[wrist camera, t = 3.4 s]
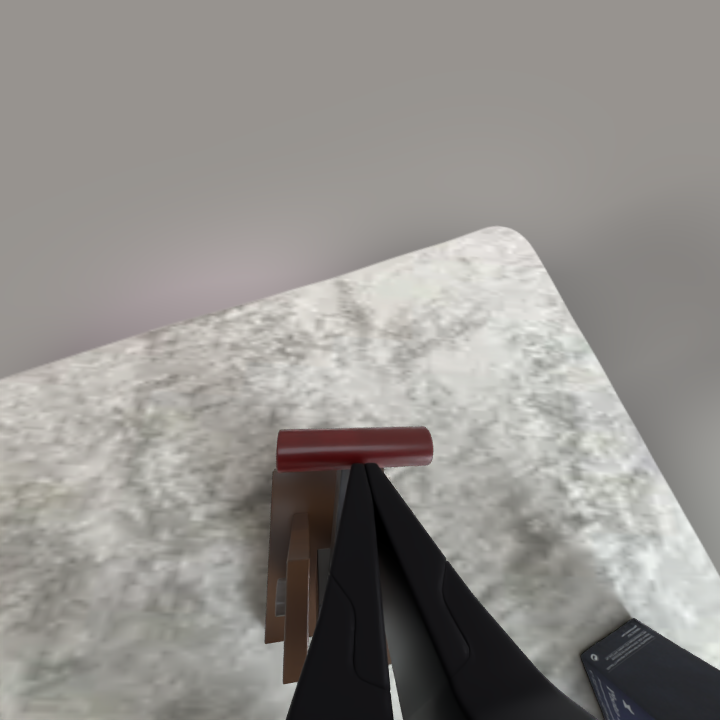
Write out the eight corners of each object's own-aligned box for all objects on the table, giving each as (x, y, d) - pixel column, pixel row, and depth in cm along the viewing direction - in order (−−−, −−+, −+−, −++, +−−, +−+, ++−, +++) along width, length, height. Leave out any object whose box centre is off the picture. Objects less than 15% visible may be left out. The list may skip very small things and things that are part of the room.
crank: (281, 413, 11) (273, 460, 8) (418, 411, 12) (443, 453, 9) (284, 585, 15) (280, 644, 13) (383, 573, 16) (394, 625, 14)
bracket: (274, 468, 21) (255, 493, 13) (379, 463, 22) (421, 483, 14) (266, 631, 18) (237, 788, 10) (385, 613, 20) (438, 738, 12)
